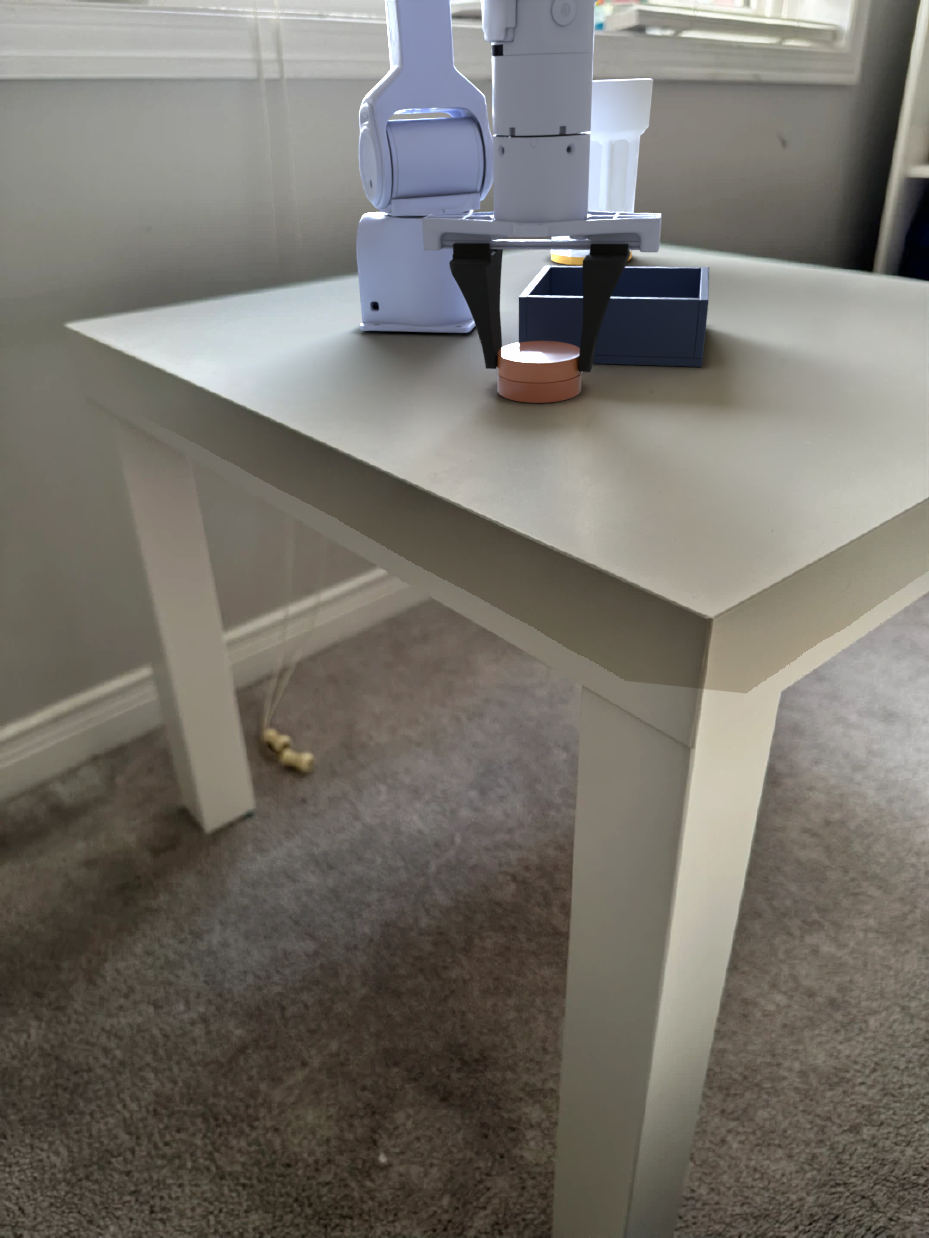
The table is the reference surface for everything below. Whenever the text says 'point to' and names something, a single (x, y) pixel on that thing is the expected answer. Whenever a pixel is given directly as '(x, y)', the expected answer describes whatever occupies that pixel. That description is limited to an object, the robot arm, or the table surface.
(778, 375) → the table surface
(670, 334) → the tub
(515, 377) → the orange round tin
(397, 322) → the robot arm
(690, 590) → the table surface
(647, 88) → the cup
